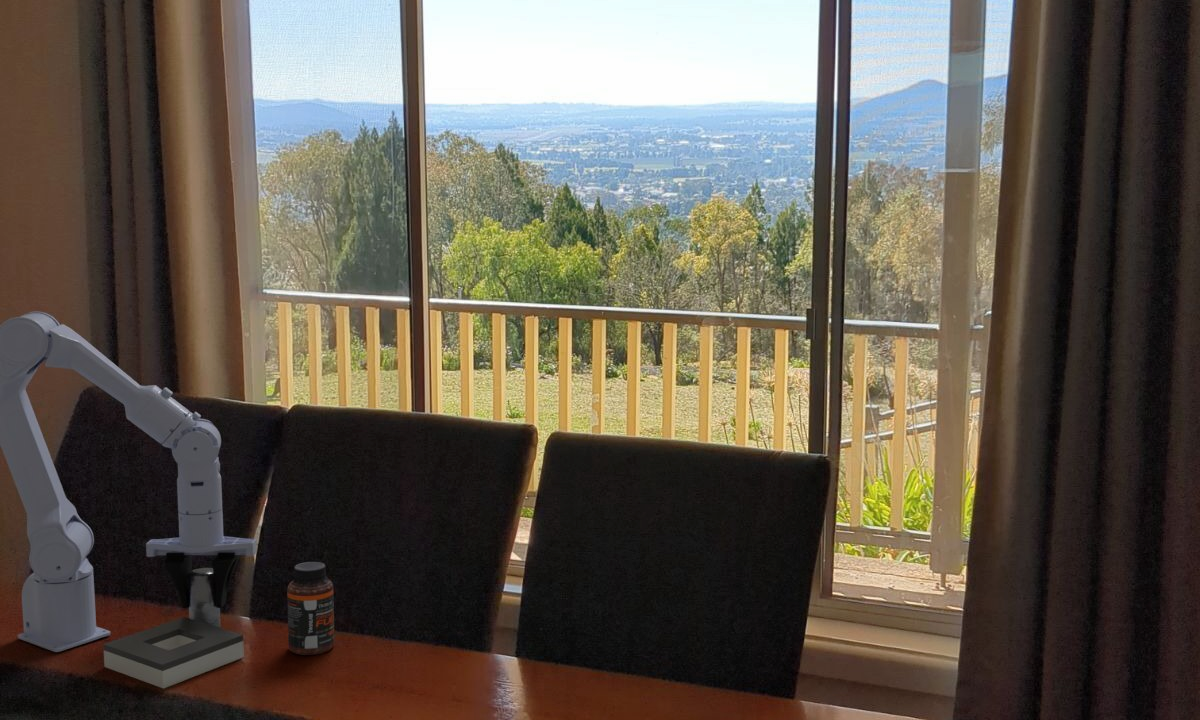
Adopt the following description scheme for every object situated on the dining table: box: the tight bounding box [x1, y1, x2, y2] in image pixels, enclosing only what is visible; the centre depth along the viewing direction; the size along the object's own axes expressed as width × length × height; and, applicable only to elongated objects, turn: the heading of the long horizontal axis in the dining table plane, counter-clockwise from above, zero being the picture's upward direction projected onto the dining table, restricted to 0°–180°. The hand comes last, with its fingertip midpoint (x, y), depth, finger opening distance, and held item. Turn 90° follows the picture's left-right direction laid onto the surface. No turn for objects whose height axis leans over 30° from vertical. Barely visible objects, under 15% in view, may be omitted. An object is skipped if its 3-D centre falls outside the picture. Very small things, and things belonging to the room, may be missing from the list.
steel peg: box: [188, 567, 221, 628], centre depth 159 cm, size 4×4×8 cm
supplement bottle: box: [286, 561, 335, 656], centre depth 151 cm, size 6×6×11 cm
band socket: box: [102, 616, 245, 689], centre depth 147 cm, size 12×12×3 cm
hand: (204, 605), depth 159 cm, fingers closed on steel peg, 4 cm apart
